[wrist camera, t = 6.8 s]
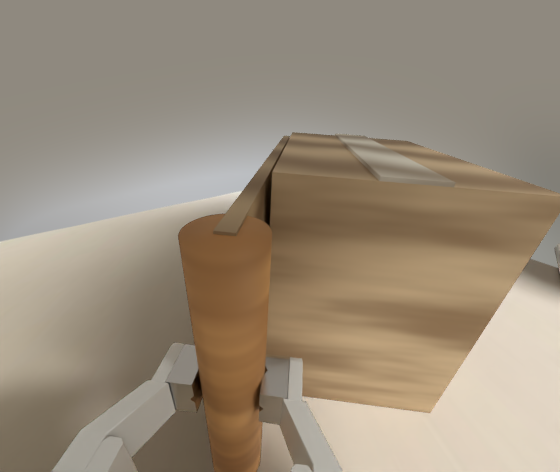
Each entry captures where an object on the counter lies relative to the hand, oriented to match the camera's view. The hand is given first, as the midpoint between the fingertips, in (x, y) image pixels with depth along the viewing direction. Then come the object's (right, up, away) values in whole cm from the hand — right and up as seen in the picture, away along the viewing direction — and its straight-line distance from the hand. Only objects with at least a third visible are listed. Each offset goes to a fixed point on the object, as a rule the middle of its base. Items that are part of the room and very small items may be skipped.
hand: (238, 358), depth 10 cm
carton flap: (0, -3, +13) cm, 13 cm away
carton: (+7, -3, +15) cm, 17 cm away
